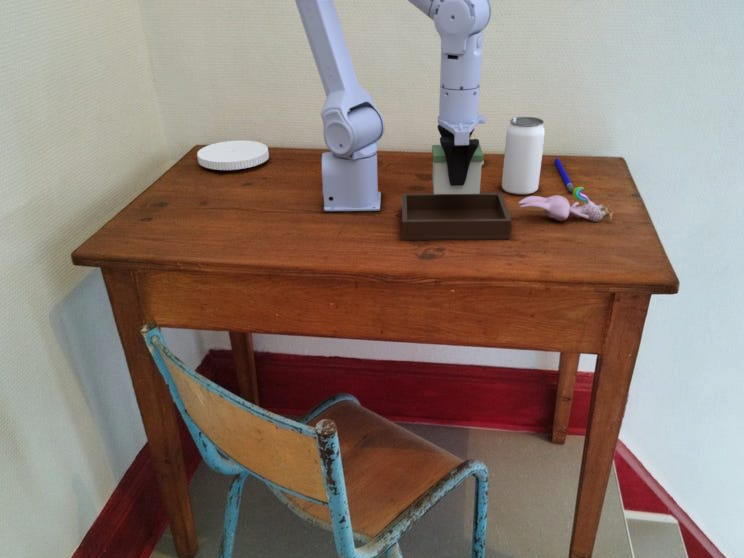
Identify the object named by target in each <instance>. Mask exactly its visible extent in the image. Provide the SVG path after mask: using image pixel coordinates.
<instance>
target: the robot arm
mask: <svg viewBox="0 0 744 558" xmlns="http://www.w3.org/2000/svg"><path fill="white" fill-rule="evenodd" d="M294 1H295V5H296V7H297V10H298V14H299V17H300V20H301V23H302V27H303V29H304V32H305V35H306V38H307V42H308V44H309V47H310V50H311V53H312V57H313V59H314V62H315V66H316V69H317V72H318V75H319V78H320V81H321V83H322V88H323V89H324V93H325V95H326V98H325V101H324V102H323V103H324V104H323V106H322V109H321V111H320V116H321V121H322V123H323V131H322V135H323V141H324V143H325V145H326V148H328V149H329V151H327V152H322V155H321V181H322V191H321V192H322V196H323V211H324V212H379V211H381V201H382V200H381V197H382V193H381V191H379V179H378V175H379V174H378V148H379V141H380V140H381V139H382V138H383V135H384V133H385V129H386V128H385V127H386V126H385V125H386V124H385V119H384V117H383V114H382V113H381V111H380V110H379V109H378V107H377V106H376V105H375V102H374V100H373V97H372V94H370V93H369V92H368V91H367V90H366V89H364V87H361V85H360V84H359V83H360V82H359V80H358V77H357V73H356V71H355V67H354V64H353V60H352V57H351V54H350V51H349V47H348V44H347V42H346V38H345V35H344V32H343V27H342V24H341V22H340V18H339V16H338V11H337V9H336V5H335V2H334V0H294ZM407 2H409V3H410V4H411V5H413V6H414V7H415V8H416V9H418V10H419V11H421V12H422V13H423V14H424V15H425V16H426V17H428V18H429V19H430V20H432V21H433V24H434V28H435V30H436V32H437V33H438V35H439V37H440V73H439V74H440V75H439V80H440V81H439V103H438V106H439V109H438V116H437V130H438V132H439V135H440V137H439V145H441V146H442V148H443V150H444V153H445V156H446V160H447V167H448V176H449V182H450V185H451V186H463V185H464V183H465V181H466V177H467V173H468V169H469V165H470V162H471V159H472V157H473V155H474V153H475V151H476V149H477V148H478V146H479V144H480V140H479V139H478V138H476V139H470V137H471V135H472V133H473V134H474V131H475V130H476V129H475V128H476V127H477V126H478V125H479V124H486V122H487V118H486V117H487V116H485V115H484V114H483V115H482V114H479V105H480V89H481V77H482V76H481V75H482V59H483V42H484V41H483V40H484V30H485V29H486V28H487V26H488V24H489V23H490V20H491V17H492V5H491V2H490V0H407Z"/></svg>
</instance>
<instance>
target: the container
mask: <svg viewBox="0 0 744 558" xmlns="http://www.w3.org/2000/svg"><path fill="white" fill-rule="evenodd" d="M431 154H432V189H433V193H434V194H480V193H481V178H482V166H483V165H482V162H483V161H484V152H483V149H482V146H481V144H480V143H479V146H478V148H477V149H476V151H475V153H474V155H473V157H472V159H471V162H470V165H469V169H468V173H467V177H466V181H465V183H464V185H463V186H451V185H450V182H449V176H448V167H447V160H446V156H445V153H444V150H443V148H442V146H441V144H432V145H431ZM481 165H482V166H481Z"/></svg>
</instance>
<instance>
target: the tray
mask: <svg viewBox="0 0 744 558" xmlns="http://www.w3.org/2000/svg"><path fill="white" fill-rule="evenodd" d="M511 231H512V217H511V214H510V212H509V209H508V206H507V203H506V201H505V198H504V195H503V193H502V192H480V194H434V192H432V193H401V240H402V241H465V240H466V241H468V240H470V241H471V240H474V241H475V240H476V241H477V240H487V241H488V240H511Z"/></svg>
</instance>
